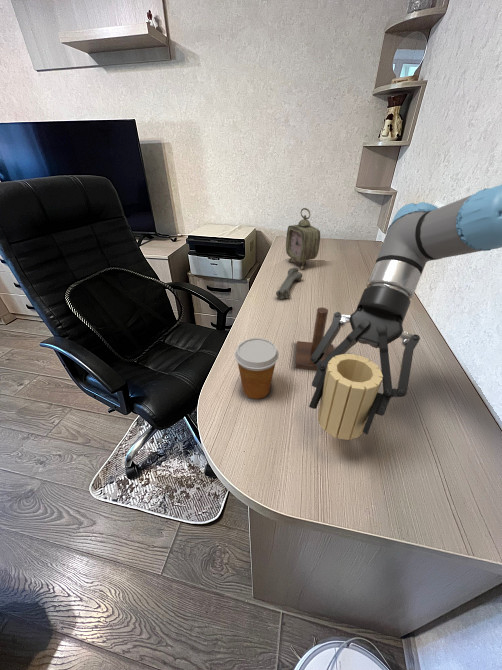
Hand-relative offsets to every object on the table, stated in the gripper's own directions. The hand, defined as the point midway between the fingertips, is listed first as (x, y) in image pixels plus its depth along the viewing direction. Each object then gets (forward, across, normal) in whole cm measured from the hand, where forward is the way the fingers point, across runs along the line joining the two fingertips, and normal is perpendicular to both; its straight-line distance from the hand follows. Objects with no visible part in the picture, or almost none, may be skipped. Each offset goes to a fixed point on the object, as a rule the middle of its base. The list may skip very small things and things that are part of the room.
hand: (337, 419), depth 45 cm
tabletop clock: (-53, +48, -68) cm, 99 cm away
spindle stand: (-10, +14, -26) cm, 31 cm away
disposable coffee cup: (+3, +21, -13) cm, 25 cm away
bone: (-35, +40, -50) cm, 73 cm away
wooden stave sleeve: (0, 0, -5) cm, 5 cm away
